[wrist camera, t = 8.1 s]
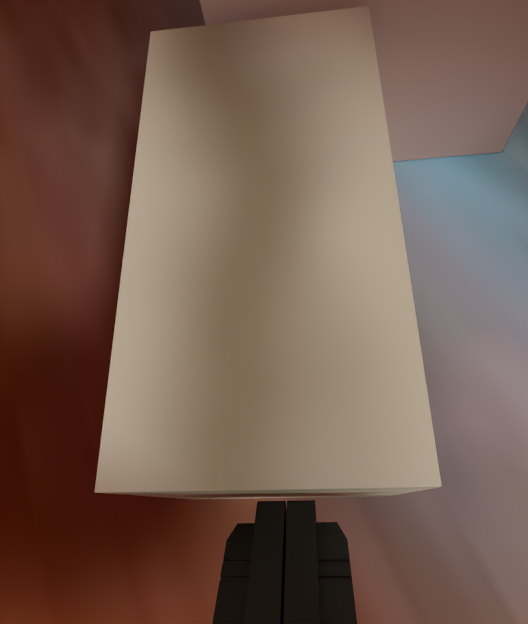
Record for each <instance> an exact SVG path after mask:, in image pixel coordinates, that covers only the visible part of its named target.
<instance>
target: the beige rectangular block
mask: <svg viewBox="0 0 528 624" xmlns="http://www.w3.org/2000/svg"><path fill="white" fill-rule="evenodd" d="M437 487H442V486H441V479H440V472H439V466H438V459H437V453H436V446H435V439H434V433H433V426H432V420H431V413H430V406H429V400H428V393H427V386H426V380H425V373H424V367H423V360H422V353H421V347H420V340H419V333H418V327H417V320H416V314H415V307H414V300H413V294H412V287H411V280H410V274H409V267H408V261H407V254H406V247H405V241H404V234H403V227H402V221H401V214H400V208H399V201H398V194H397V188H396V181H395V175H394V168H393V161H392V155H391V148H390V141H389V135H388V128H387V122H386V115H385V108H384V102H383V95H382V88H381V82H380V75H379V69H378V62H377V55H376V49H375V42H374V35H373V29H372V22H371V16H370V9H369V6H365V7H356V8H347V9H339V10H330V11H322V12H313V13H305V14H296V15H288V16H279V17H271V18H262V19H254V20H245V21H237V22H228V23H219V24H211V25H202V26H194V27H185V28H177V29H168V30H160V31H151V33H150V41H149V50H148V58H147V66H146V74H145V82H144V91H143V99H142V107H141V115H140V123H139V132H138V140H137V148H136V156H135V164H134V173H133V181H132V189H131V197H130V205H129V214H128V222H127V230H126V238H125V246H124V255H123V263H122V271H121V279H120V287H119V296H118V304H117V312H116V320H115V328H114V337H113V345H112V353H111V361H110V369H109V378H108V386H107V394H106V402H105V410H104V419H103V427H102V435H101V443H100V451H99V460H98V468H97V476H96V484H95V492H94V493H108V494H123V495H137V496H152V497H166V498H181V499H236V498H303V497H369V496H392V495H397V494H403V493H409V492H415V491H420V490H426V489H432V488H437Z"/></svg>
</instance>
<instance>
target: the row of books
mask: <svg viewBox="0 0 528 624" xmlns="http://www.w3.org/2000/svg"><path fill="white" fill-rule="evenodd" d="M200 4H201V8H202V12H203V17H204V21H205V25H211V24H219V23H228V22H237V21H245V20H254V19H262V18H271V17H279V16H288V15H296V14H305V13H313V12H322V11H330V10H339V9H347V8H356V7H365V6H369V9H370V16H371V22H372V29H373V35H374V42H375V49H376V55H377V62H378V69H379V75H380V82H381V88H382V95H383V102H384V108H385V115H386V122H387V128H388V135H389V141H390V148H391V155H392V161H404V160H416V159H427V158H439V157H450V156H462V155H474V154H485V153H497V152H503V150H504V148H505V146H506V144H507V142H508V140H509V138H510V136H511V134H512V132H513V130H514V128H515V126H516V124H517V122H518V120H519V118H520V116H521V115H522V113H523V111H524V109H525V107H526V105H527V103H528V0H200Z"/></svg>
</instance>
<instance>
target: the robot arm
mask: <svg viewBox="0 0 528 624" xmlns="http://www.w3.org/2000/svg"><path fill="white" fill-rule="evenodd" d="M213 624H357V620H356V611H355V602H354V594H353V585H352V577H351V568H350V559H349V551H348V542H347V538H346V537H345V535H344V533H343V532H342V530H341V528H340V527H339V525H338V523H337V522H319V523H316V509H315V500H311V501H287V509H286V502H285V501H258V503H257V509H256V518H255V523H244V524H237V525H236V527H235V528H234V530H233V532H232V533H231V535H230V536H229V538H228V539H227V542H226V548H225V554H224V560H223V565H222V571H221V580H220V583H219V589H218V594H217V600H216V606H215V612H214V618H213Z"/></svg>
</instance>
